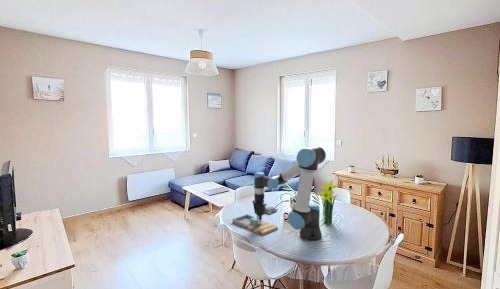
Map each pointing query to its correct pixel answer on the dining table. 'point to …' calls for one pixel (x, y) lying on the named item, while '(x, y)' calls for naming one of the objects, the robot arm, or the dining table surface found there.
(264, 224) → the slatted wooden board
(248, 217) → the tray
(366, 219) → the dining table surface
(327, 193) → the daffodil flowers
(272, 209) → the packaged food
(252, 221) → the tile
